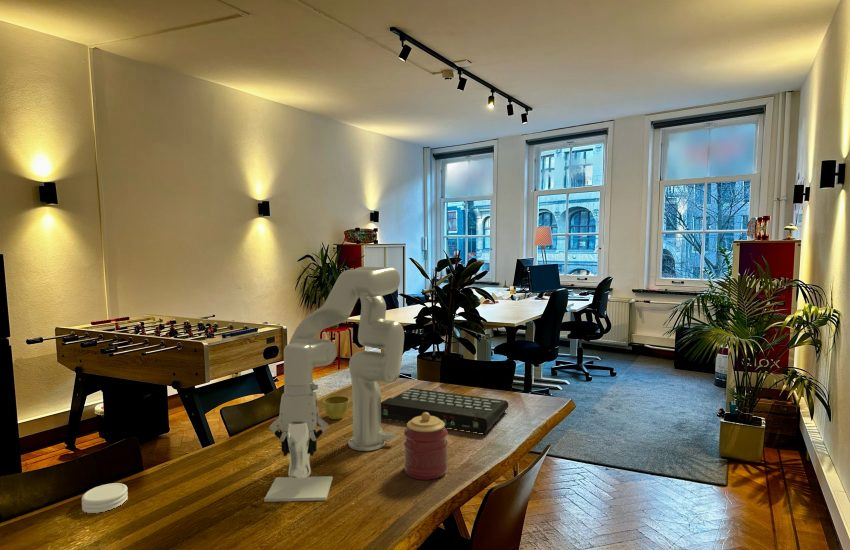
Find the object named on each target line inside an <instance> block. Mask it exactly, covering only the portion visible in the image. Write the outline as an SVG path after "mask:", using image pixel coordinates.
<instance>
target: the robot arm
mask: <svg viewBox="0 0 850 550" xmlns="http://www.w3.org/2000/svg"><path fill="white" fill-rule="evenodd" d="M400 284H401V275H400V273H399V271H398V270H397V269H396V268H394V267H392V266H389V267H388V266H359V267H356V268H355V269H346V270H344V271H342V272H341V273H340V274H339V276H338V278H337V279H336V281H335V283H334V285H333V287H332V288H331V290H330V292H329V294H328V296H327V298H326V299H325V302H324V304H322V306H320V307H318V308H317V309H316V310H315V311H313V312H311V314H309V315H307V316H306V317H305V318H303V320H302V321H301V322H300V323H299V324H298V326H297V327H296V329H295V330H294V332H293V334H292V336H291V337H290V340H289V343H288V344H287V345H285V346H284V349H283V374H284V376H283V382H284V383H283V386H284V387H283V389H284V390H283V391H284V392H282V394H281V398H280V405H279V415H278V418H277V419H275V420H274V421H273V422H272V423H271V424H270V425H269V426H268V428H269V430H270V431H271V432H272V433H273V434H274V435H275V436H276V437H277V438H278V439H279V441H280V443H281V453H282V455H283V457H286V456H287V455H289V453H288V448H287V441H286V433H287V431H288V425H289V423H293V424H301V423H307V427H308V431H310V434H311V442H310V457H311V456H314V454H315V452H317V448H318V447H317V446H318V445H317V443H318V438H319V437H321V436H322V435H323V433H324V432H325V431H326V430H328V428H329V424H328V422H327V421H325V420H324V419H323V418H322V417H321V416H320V415H319V403H318V396H317V392H316V391H317V390H318V389H319V384H316V383H315V382H314V377H313V375H314V373H313V369H314V368H319V367H326V366H329V365H331V364H332V363H333V362H334V361H335V360H336V357H337V356H338V348H337V345H336V344H335V342H333V341H331V340H330V339H325V338H317V337H315V336H317V334H319V333H321V332H322V331H324V330H325V329H327V328H331V327H334V326H336V325H339V324H342V323H343V322H346V321H348V319H349V318H350V316H351V315H352V312H353V310H354V307H355V305H356V303H357V302H358V300H359V299H360V305H361V307H360V308H361V309H360V315H359V317H360V318H359V322H358V323H359V324H358V332H357V340H358V343H359V344H360V345H361V346H364V347H367V348H375V349H382V350H383V349H384V352H378V351H372V350H359V351H357V352H355V353H353V354H352V356H351V357H350V358H349V363H348V368H349V369H348V370H349V374H350V379H351V388H352V390H351V391H352V437H350V438H349V439H348V442H347V443H348V447H349V448H350V449H352V450H355V451H359V452H360V451H361V452H371V451H377V450H379V449H381V448H384V446H385V445H386V442H387V441H386V440H395V433H392V431H385V430H383V427H382V418H381V402H382V392H381V387H380V385H379V384H378V382H380V383H388V384H390V383H395V382H396V381H397V380H398V379H399V377H400V374H401V370H402V360H403V353H404V352H403V351H404V345H405V343H404V342H405V331H404V327H403V326H402V324H401V323H400V322H398V321H397V320H391V319H389V320H388V319H386V315H387V314H386V313H387V304H386V301H385V299H384V297H383V296H386V295H389V294H393V293H395V292H396V291H397V290H398V288H399V286H400ZM318 425H320V426H321V427H320V428H319V429H318V430H316V429H317V426H318Z"/></svg>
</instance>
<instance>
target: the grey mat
mask: <svg viewBox="0 0 850 550" xmlns="http://www.w3.org/2000/svg"><path fill="white" fill-rule="evenodd" d="M332 482H333V476H332V475H329V476H322V475H321V476H307V477H305V478H301V479H294V478H291V477H289V476H283V477H278V476H277V477H275V479H274V480H273V483H272V484H271V486H270V488H269V489H268V491H267V493H266V495H265V497H264V498H263V500H264V501H263V502H264V503H267V502H268V503H269V502H305V501H306V502H310V501H327V498H328V495H329V492H330V488H331V485H332Z"/></svg>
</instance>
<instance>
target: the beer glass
mask: <svg viewBox="0 0 850 550" xmlns="http://www.w3.org/2000/svg"><path fill="white" fill-rule="evenodd" d="M286 441H287V448H288V458H289V467H288V477H291V478H294V479H301V478H305V477H310V475H311V473H312V468H311V463H310V459H311V458H310V457H311V455H310V442H311V434H310V431H308V427H307V423H301V424H293V423H289V425H288V431H287V433H286Z"/></svg>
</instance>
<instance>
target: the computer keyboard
mask: <svg viewBox="0 0 850 550" xmlns="http://www.w3.org/2000/svg"><path fill="white" fill-rule="evenodd" d="M507 409H509V402H508V401H507V400H505V399H504V400H503V399H499V398H498V399H497V398H490V397H489V398H488V397H482V396H475V395H474V396H473V395H466V394H460V393H459V394H458V393H451V392H444V391H438V390H436V391H435V390H427V389H420V388H414V387H413V388H409V389H407V390H406V391H404V392H402V393H400V394H398V395H395V396H394V397H388V398H386V399H384V400H383V401H382V400H381V419H382V418H386V419H385V420H388V419H392V420H391V421H394V420H398V421H397V422H401V421H403V422H402V423H407V422H409V421H410V420H412V419H413V418H414V417H417V416H422V414H423V413H424V412H428V413H429V414H430V416H435V417H437V418H439V419H440V420H442V421H443V422H444V423H445V426H444V427H445V428H452V429H457V430H464V431H470V432H477V433H483V434H485V435H486V434H487V433H488V432H489V430H491V428H493V426H494V425H495V424H496V423H497V422H498V421H499V420H500V418H501V417H502V416H503V415H504V414H505V413H506V412H505V410H506V411H507ZM504 412H505V413H504ZM503 413H504V414H503ZM502 414H503V415H502ZM501 415H502V416H501ZM500 416H501V417H500ZM499 417H500V418H499ZM498 419H499V420H498ZM497 420H498V421H497ZM496 421H497V422H496ZM495 422H496V423H495ZM494 423H495V424H494ZM493 424H494V425H493ZM487 431H488V432H487ZM486 432H487V433H486Z"/></svg>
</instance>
